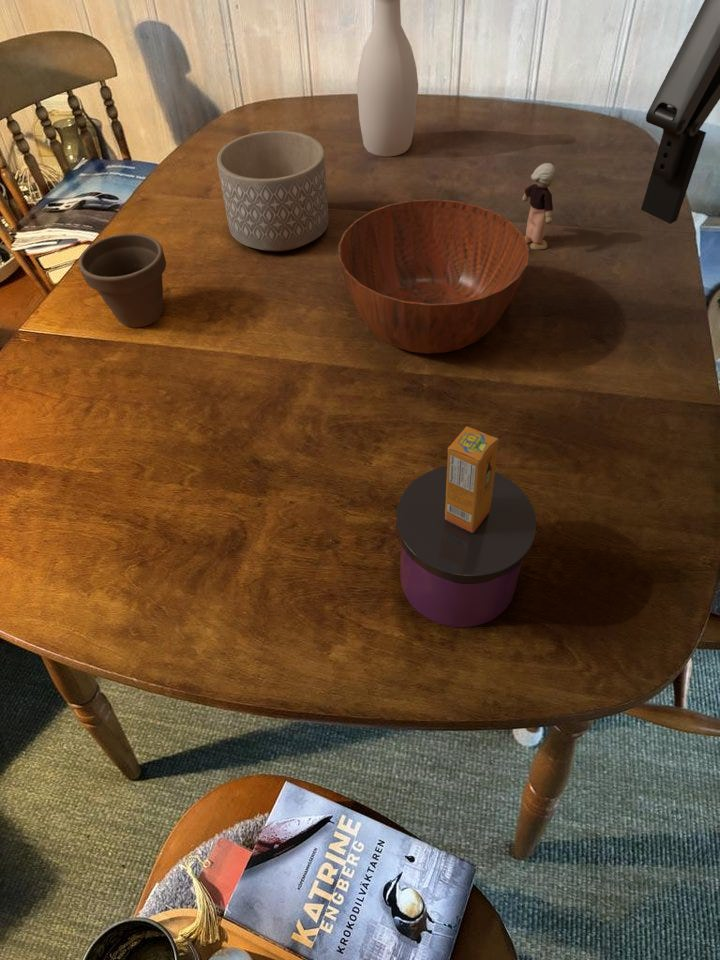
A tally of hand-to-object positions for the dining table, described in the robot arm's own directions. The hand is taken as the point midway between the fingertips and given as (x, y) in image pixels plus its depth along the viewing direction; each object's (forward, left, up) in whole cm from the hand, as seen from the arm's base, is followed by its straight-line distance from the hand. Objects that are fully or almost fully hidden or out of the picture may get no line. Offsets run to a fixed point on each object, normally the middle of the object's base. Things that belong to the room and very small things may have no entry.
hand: (713, 186), depth 57 cm
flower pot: (+69, -6, -35) cm, 78 cm away
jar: (+12, +20, -35) cm, 42 cm away
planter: (+60, -34, -35) cm, 77 cm away
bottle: (+54, -68, -35) cm, 94 cm away
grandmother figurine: (+20, -45, -35) cm, 60 cm away
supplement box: (+12, +20, -25) cm, 34 cm away
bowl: (+29, -20, -35) cm, 50 cm away
